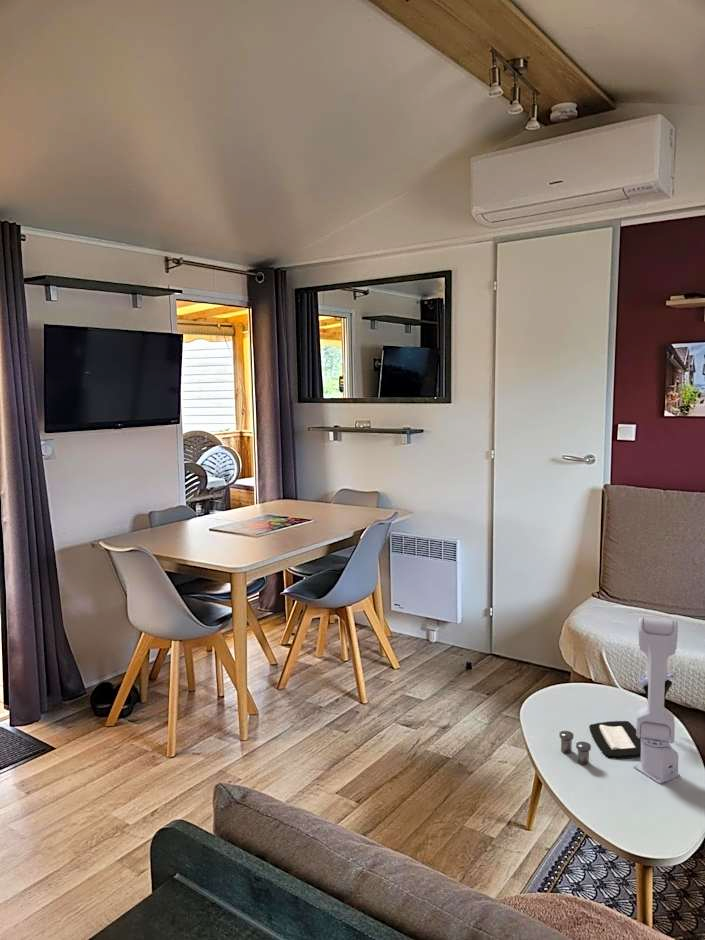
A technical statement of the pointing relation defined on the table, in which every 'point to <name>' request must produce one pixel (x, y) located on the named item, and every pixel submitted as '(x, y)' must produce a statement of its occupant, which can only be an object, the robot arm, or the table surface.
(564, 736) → the metal bosses
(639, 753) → the light switch
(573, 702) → the table surface
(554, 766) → the table surface
